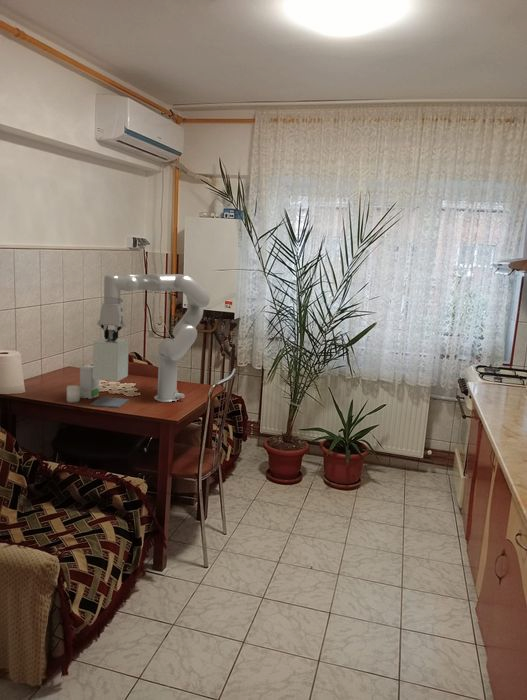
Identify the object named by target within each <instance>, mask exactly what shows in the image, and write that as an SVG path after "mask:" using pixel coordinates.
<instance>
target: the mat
mask: <svg viewBox="0 0 527 700" xmlns="http://www.w3.org/2000/svg"><path fill="white" fill-rule="evenodd" d="M129 401H130V399H128V398H119V397H108V396H107V397H106V396H101V397H99V398H97V399H96V400H94V401H93V402H91V403H90V405H94V406H93V407H100V406H102V407H103V408H111V407H113V408H112V409H120V408H121V407H123V406H124V405H125V404H126V402H127V403H128V402H129ZM122 405H123V406H122Z"/></svg>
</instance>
